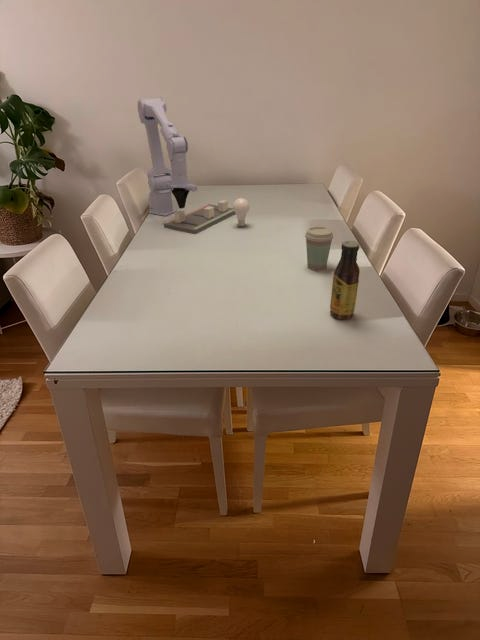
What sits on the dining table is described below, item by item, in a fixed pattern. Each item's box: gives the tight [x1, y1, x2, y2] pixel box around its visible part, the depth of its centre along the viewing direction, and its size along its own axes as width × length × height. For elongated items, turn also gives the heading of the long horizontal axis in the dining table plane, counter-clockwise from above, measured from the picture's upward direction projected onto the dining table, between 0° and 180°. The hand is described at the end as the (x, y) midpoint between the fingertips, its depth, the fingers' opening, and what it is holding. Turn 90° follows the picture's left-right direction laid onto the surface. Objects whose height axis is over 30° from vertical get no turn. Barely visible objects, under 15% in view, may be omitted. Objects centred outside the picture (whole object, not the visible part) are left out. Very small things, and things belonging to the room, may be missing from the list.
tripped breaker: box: [173, 209, 186, 223], centre depth 181 cm, size 2×4×4 cm
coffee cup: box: [304, 226, 334, 272], centre depth 144 cm, size 8×8×12 cm
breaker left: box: [217, 199, 229, 212], centre depth 193 cm, size 2×4×4 cm
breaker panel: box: [163, 203, 236, 235], centre depth 188 cm, size 15×30×2 cm, turn 148°
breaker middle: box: [204, 206, 214, 219], centre depth 185 cm, size 2×4×4 cm
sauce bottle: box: [329, 240, 361, 320], centre depth 115 cm, size 7×6×20 cm
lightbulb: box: [232, 197, 250, 228], centre depth 178 cm, size 6×6×11 cm
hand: (181, 207), depth 179 cm, fingers closed
